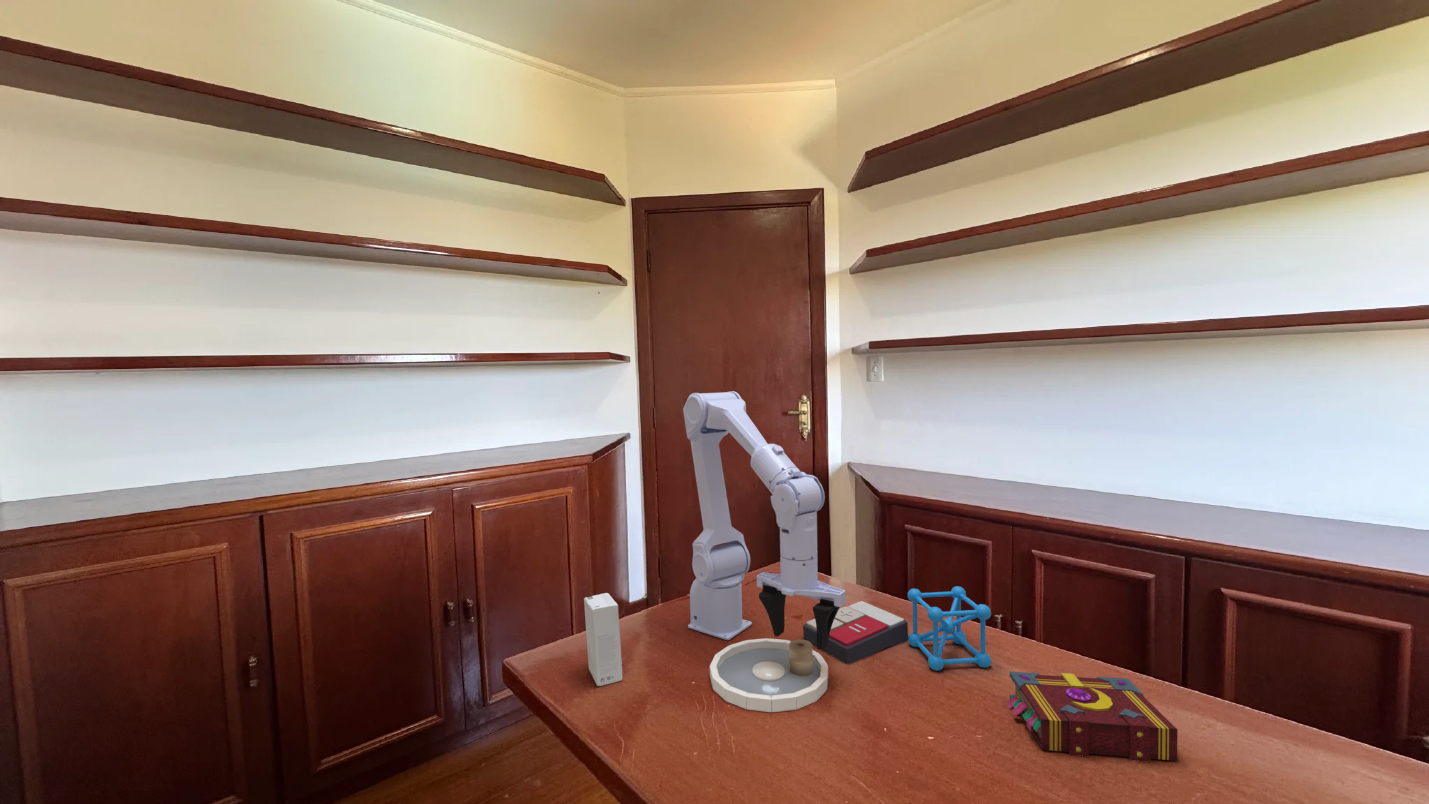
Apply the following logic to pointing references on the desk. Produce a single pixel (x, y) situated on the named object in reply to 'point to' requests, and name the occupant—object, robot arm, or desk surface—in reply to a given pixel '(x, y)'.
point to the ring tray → (765, 676)
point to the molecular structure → (949, 628)
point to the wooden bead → (801, 657)
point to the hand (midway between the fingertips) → (800, 640)
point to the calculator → (860, 632)
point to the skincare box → (603, 639)
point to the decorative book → (1092, 716)
